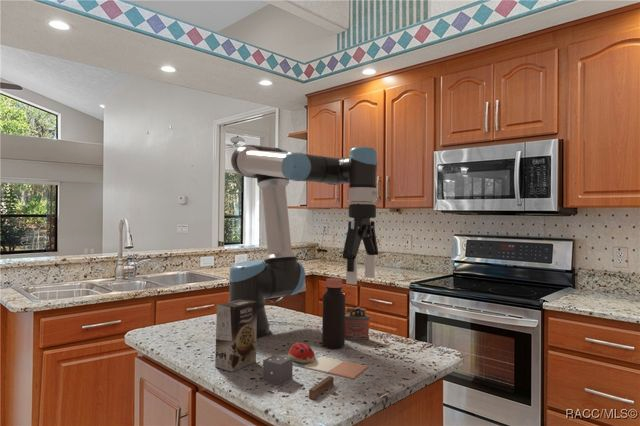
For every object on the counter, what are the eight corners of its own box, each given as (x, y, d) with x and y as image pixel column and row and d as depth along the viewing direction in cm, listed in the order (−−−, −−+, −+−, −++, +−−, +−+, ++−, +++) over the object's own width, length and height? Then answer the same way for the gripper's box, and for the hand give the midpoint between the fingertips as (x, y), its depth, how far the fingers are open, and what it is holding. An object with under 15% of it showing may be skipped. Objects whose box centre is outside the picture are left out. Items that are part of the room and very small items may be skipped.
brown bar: (308, 397, 89) (309, 389, 89) (329, 383, 97) (329, 375, 97) (313, 399, 88) (313, 390, 88) (333, 384, 96) (333, 376, 96)
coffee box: (232, 372, 102) (234, 307, 102) (214, 367, 106) (215, 303, 106) (257, 362, 110) (258, 301, 110) (239, 357, 114) (240, 298, 114)
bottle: (322, 342, 128) (323, 277, 128) (344, 342, 128) (345, 277, 128) (321, 349, 122) (322, 280, 122) (344, 349, 121) (346, 281, 122)
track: (281, 362, 110) (281, 361, 110) (299, 352, 118) (299, 351, 118) (353, 378, 100) (353, 377, 100) (368, 367, 107) (368, 366, 107)
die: (262, 381, 97) (262, 359, 97) (275, 374, 102) (275, 353, 102) (280, 386, 95) (280, 364, 95) (292, 378, 99) (292, 357, 99)
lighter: (368, 338, 133) (369, 307, 133) (369, 341, 130) (369, 309, 130) (343, 337, 134) (344, 306, 134) (343, 340, 131) (343, 308, 131)
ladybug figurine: (305, 351, 118) (305, 339, 118) (321, 362, 109) (321, 349, 109) (283, 355, 115) (283, 342, 115) (298, 366, 106) (298, 352, 106)
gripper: (358, 202, 102) (356, 288, 102) (389, 205, 124) (388, 276, 124) (330, 202, 105) (329, 285, 105) (365, 205, 127) (364, 274, 127)
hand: (361, 280), depth 115 cm, fingers open, 13 cm apart
